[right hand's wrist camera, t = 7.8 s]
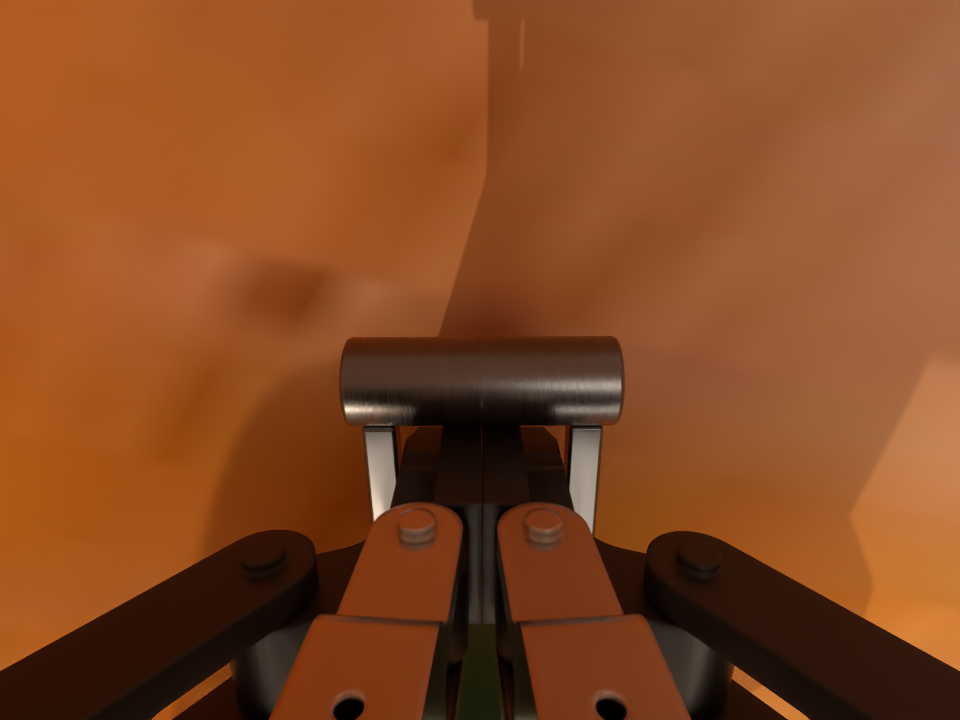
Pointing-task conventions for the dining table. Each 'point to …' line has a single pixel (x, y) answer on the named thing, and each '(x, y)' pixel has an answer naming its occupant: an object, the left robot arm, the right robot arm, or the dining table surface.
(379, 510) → the drawer
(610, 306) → the dining table surface
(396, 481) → the right robot arm
